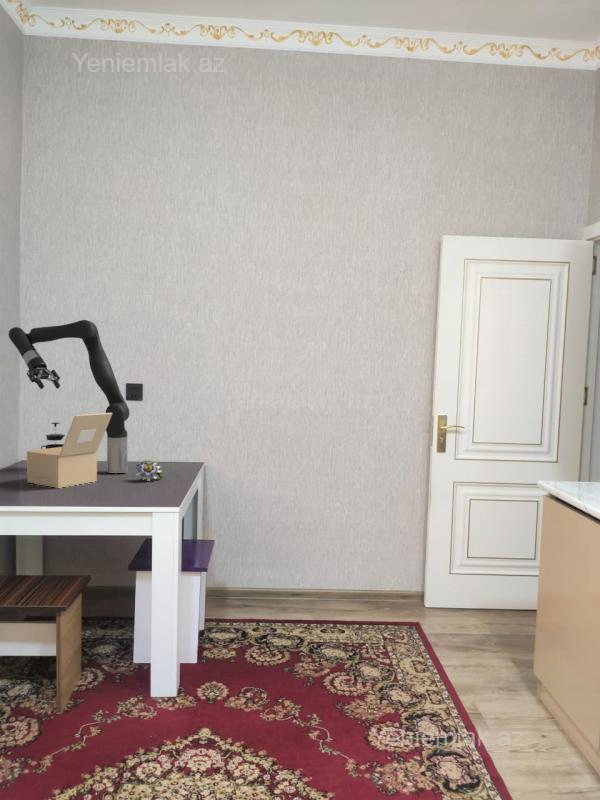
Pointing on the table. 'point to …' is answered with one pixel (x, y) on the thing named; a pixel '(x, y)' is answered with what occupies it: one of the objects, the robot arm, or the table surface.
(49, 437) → the french press
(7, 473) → the table surface
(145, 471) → the passion flower
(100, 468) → the table surface
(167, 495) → the table surface
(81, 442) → the carton flap
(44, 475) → the carton
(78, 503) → the table surface
